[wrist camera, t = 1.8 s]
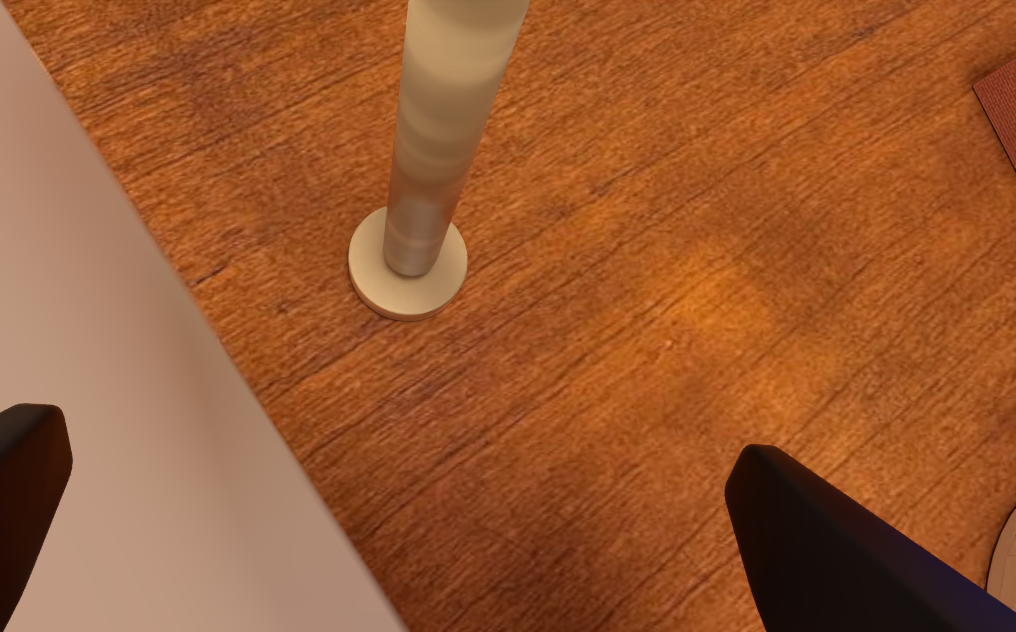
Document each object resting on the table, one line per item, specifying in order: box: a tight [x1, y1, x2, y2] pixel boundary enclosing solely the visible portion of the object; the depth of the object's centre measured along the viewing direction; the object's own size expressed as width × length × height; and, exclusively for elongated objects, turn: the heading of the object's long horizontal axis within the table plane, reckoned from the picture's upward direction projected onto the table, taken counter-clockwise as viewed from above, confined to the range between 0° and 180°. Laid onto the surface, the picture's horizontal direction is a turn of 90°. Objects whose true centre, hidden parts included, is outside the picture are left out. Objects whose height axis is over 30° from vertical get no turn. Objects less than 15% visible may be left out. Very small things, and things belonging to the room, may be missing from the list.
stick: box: [348, 0, 531, 321], centre depth 15 cm, size 4×4×16 cm
